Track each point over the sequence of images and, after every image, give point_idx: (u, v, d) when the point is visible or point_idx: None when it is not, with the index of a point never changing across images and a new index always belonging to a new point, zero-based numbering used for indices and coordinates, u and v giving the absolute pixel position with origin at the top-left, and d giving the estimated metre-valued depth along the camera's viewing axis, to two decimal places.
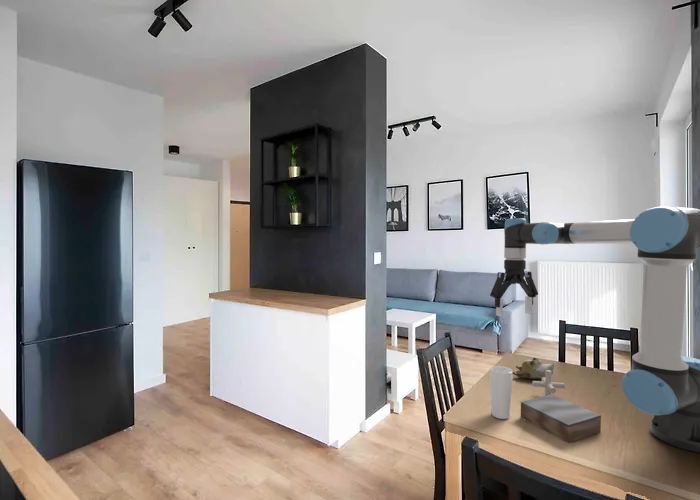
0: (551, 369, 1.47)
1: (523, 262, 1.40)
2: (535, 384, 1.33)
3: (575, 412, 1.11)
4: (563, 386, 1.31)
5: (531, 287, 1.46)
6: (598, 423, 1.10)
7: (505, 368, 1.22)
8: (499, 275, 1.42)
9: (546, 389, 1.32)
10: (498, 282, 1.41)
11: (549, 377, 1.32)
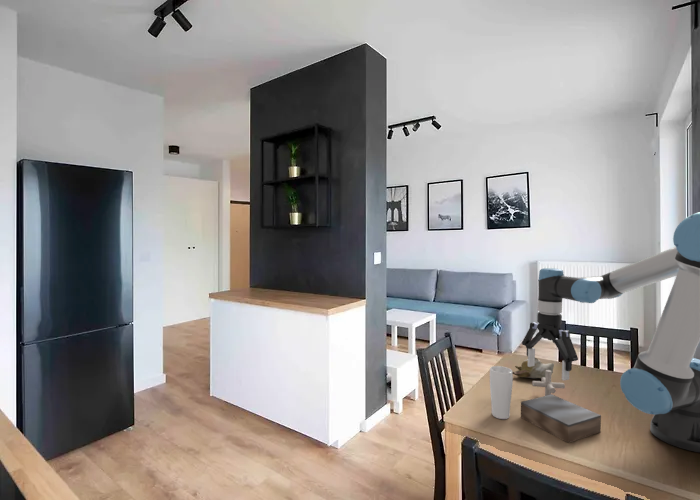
0: (551, 369, 1.48)
1: (543, 317, 1.30)
2: (535, 384, 1.33)
3: (575, 412, 1.11)
4: (563, 386, 1.31)
5: None
6: (598, 423, 1.10)
7: (505, 368, 1.22)
8: None
9: (546, 389, 1.32)
10: None
11: (549, 377, 1.32)
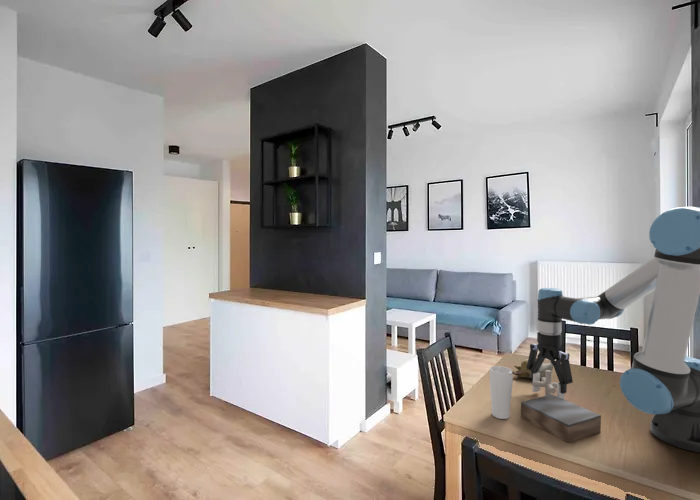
0: (550, 368, 1.48)
1: (543, 337, 1.30)
2: (535, 384, 1.33)
3: (575, 412, 1.11)
4: None
5: None
6: (598, 423, 1.10)
7: (505, 368, 1.22)
8: None
9: (546, 389, 1.32)
10: None
11: (549, 377, 1.32)
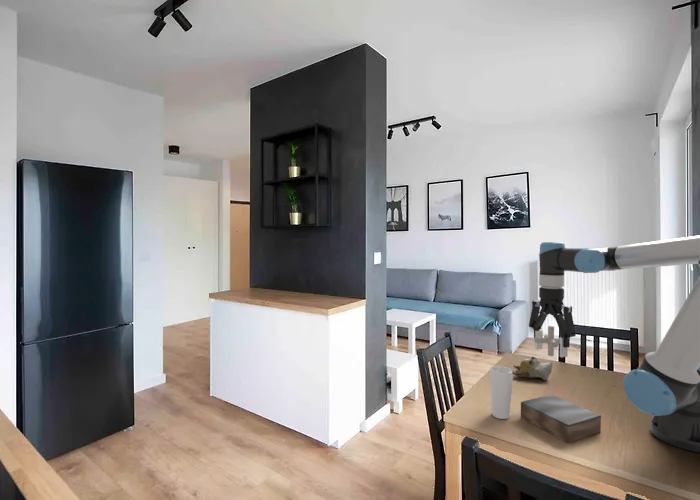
0: (550, 368, 1.49)
1: (545, 291, 1.27)
2: (537, 340, 1.30)
3: (575, 412, 1.11)
4: None
5: None
6: (598, 423, 1.10)
7: (505, 368, 1.22)
8: None
9: (549, 345, 1.29)
10: None
11: (552, 332, 1.29)
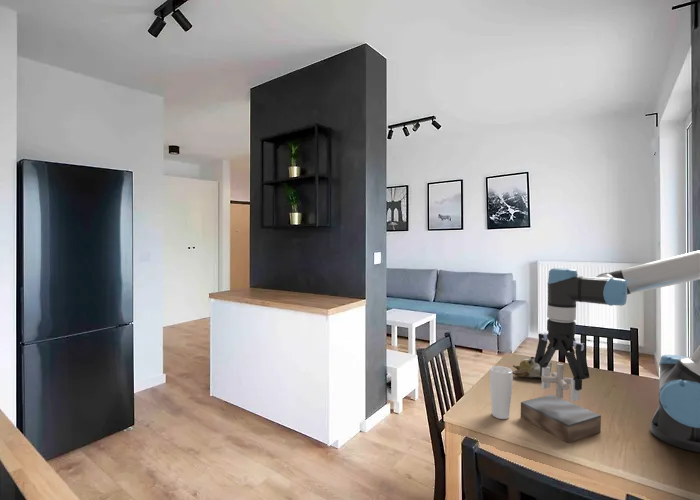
0: None
1: (555, 324, 1.11)
2: (545, 380, 1.14)
3: (575, 412, 1.11)
4: None
5: None
6: (598, 423, 1.10)
7: (505, 368, 1.22)
8: None
9: (557, 385, 1.14)
10: None
11: (561, 371, 1.13)
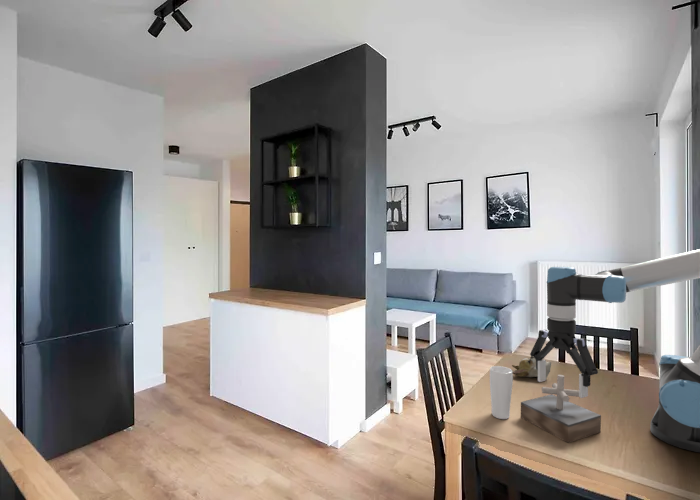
0: (548, 367, 1.50)
1: (555, 323, 1.11)
2: (545, 391, 1.14)
3: (575, 412, 1.11)
4: (578, 393, 1.12)
5: None
6: (598, 423, 1.10)
7: (505, 368, 1.22)
8: None
9: (558, 397, 1.14)
10: None
11: (562, 383, 1.13)
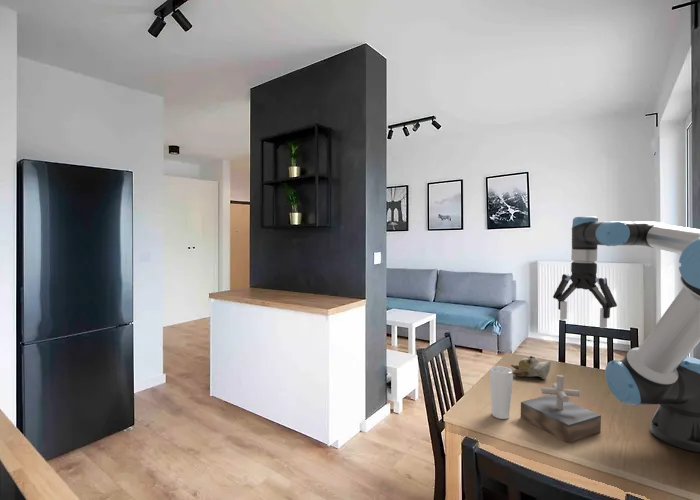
0: (548, 367, 1.50)
1: (579, 265, 1.27)
2: (545, 391, 1.14)
3: (575, 412, 1.11)
4: (578, 393, 1.12)
5: None
6: (598, 423, 1.10)
7: (505, 368, 1.22)
8: None
9: (557, 397, 1.14)
10: None
11: (561, 383, 1.13)
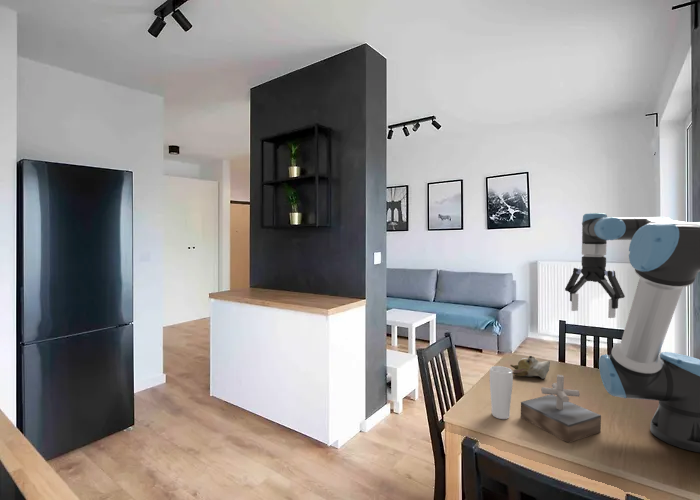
0: (547, 366, 1.50)
1: (589, 259, 1.35)
2: (545, 391, 1.14)
3: (575, 412, 1.11)
4: (578, 393, 1.12)
5: None
6: (598, 423, 1.10)
7: (505, 368, 1.22)
8: None
9: (558, 397, 1.14)
10: None
11: (561, 383, 1.13)
